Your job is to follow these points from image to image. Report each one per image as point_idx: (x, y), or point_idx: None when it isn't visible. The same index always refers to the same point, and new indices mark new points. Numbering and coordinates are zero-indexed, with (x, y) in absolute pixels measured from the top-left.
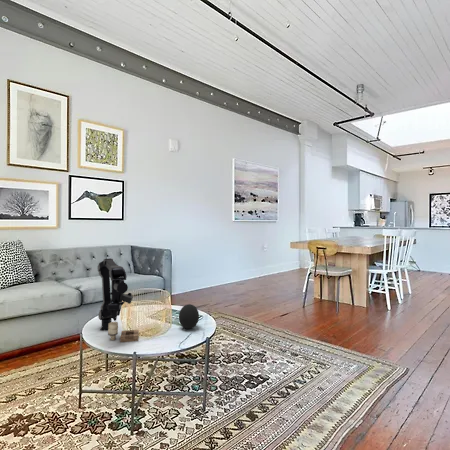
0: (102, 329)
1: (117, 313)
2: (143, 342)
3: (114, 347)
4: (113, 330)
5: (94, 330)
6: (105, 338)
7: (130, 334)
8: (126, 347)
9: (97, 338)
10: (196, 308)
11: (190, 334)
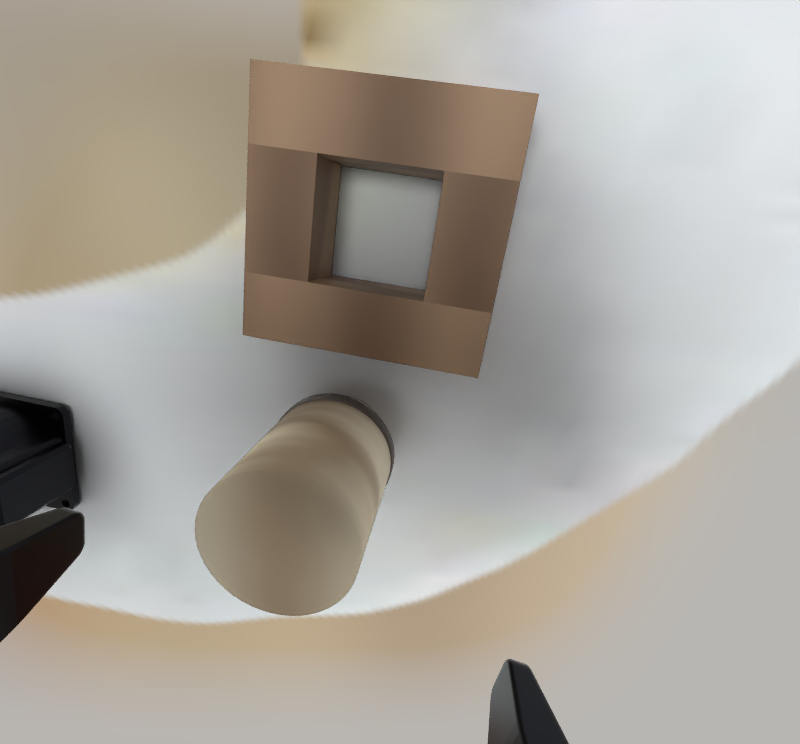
0: (72, 491)
1: (26, 592)
2: (612, 34)
3: (606, 433)
4: (379, 490)
5: None
6: None
7: (327, 214)
8: (679, 303)
9: None
10: None
11: None
